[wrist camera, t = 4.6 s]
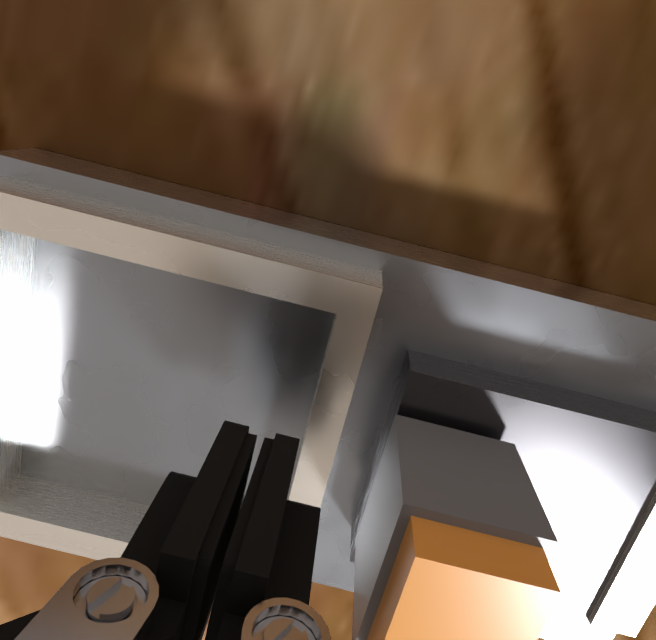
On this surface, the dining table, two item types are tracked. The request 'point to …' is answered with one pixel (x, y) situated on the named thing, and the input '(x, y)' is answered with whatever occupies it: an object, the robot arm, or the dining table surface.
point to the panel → (304, 372)
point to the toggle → (452, 541)
